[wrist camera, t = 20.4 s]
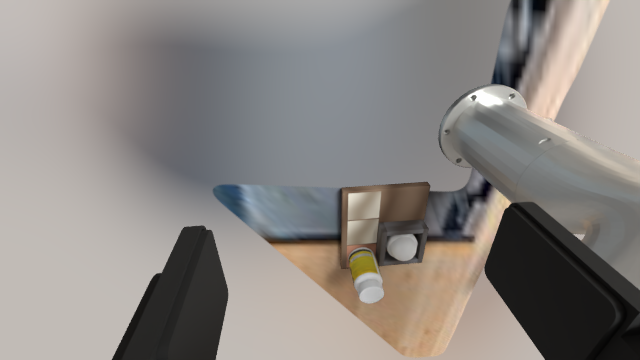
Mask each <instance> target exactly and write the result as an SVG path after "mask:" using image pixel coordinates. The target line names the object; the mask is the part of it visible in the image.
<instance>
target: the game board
mask: <svg viewBox="0 0 640 360" xmlns="http://www.w3.org/2000/svg"><path fill="white" fill-rule="evenodd" d="M429 190H430V185H429V183H428V182H418V183H404V184H389V185H374V186H359V187H345V188H342V197H341V269H348V268H350V265H349V260H348V257H349V254H350V253H351V252H352V251H353V250H355V249H357V248H361V247H365V248H369V249H370V250H372V251H373V253H374V255H375V258H376V261H377V264H378V266H385V265H397V264H409V263H421V262H422V259H423V254H424V249H425V244H426V239H427V234H428V227H427V225H426V224H425V222H424V217H425V211H426V206H427V201H428V196H429ZM404 234H414V236H415V238H416V240H417V242H418V246H417V249H416V253H415V255H414V257H413V258H412V259H410V260H408V261H400V260H397V259H396V258H394V257H392V256H391V255H390V254H389V253H388V251H387V248H386V241H387V236H391V235H404Z"/></svg>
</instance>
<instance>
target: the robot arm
mask: <svg viewBox="0 0 640 360" xmlns="http://www.w3.org/2000/svg"><path fill="white" fill-rule="evenodd" d="M439 145H440V148H441V150H442V152H443V154H444V155H445V156H446V157H447V158H448V159H449V160H450V161H451V162H452V163H454V164H455V165H458V166H461V167H466V168H474V169H475V170H476V171H478V172H479V173H480V174H481V175H482V176H483V177H484V178H485V179H486V180H487V181H488V182H490V183H491V184H492V185H493V186H494V187H495V188H496V189H497V190H498V191H499V192H500V193H501V194H503V195H504V196H505V197H506V198H507V199H508V200H509V201H510V202H511V203H512V204H510V205H509V207H508V208H506V209H505V211H504V213H503V216H502V219H501V222H500V225H499V227H498V230H497V233H496V236H495V239H494V241H493V244H492V247H491V250H490V253H489V256H488V258H487V261H486V264H485V274H486V276H487V278H488V280H489V281H490V282H491V284H492V285H493V287H494V288H495V289H496V291H497V292H498V294H499V295H500V296H501V298H502V299H503V301H504V302H505V303H506V305H507V306H508V308H509V309H510V311H511V312H512V313H513V315H514V316H515V318H516V319H517V321H518V322H519V323H520V325H521V326H522V327H523V329H524V330H525V332H526V333H527V335H528V336H529V337H530V339H531V340H532V342H533V343H534V344H535V346H536V347H537V349H538V350H539V352H540V353H541V354H542V356H543V357H544V359H545V360H640V161H639V160H636V159H634V158H631V157H629V156H627V155H624V154H622V153H620V152H617V151H615V150H613V149H610V148H608V147H606V146H604V145H602V144H600V143H598V142H595V141H593V140H591V139H589V138H587V137H585V136H583V135H580V134H578V133H576V132H574V131H572V130H570V129H567V128H566V127H563V126H561V125H559V124H557V123H555V122H553V121H552V119H551V118H544V117H542V116H540V115H538V114H536V113H533V112H531V111H529V110H527V106H526V103H525V101H524V99H523V97H522V96H521V95H520V94H519V93H518V92H517V91H515V90H514V89H512V88H510V87H507V86H505V85H499V84H488V85H483V86H480V87H477V88H475V89H472V90H470V91H468V92H467V93H465V94H464V95H462V96H461V97H460V98H459V99H458V100H456V101H455V102H454V104H453V105H452V106H451V107H450V108H449V109H448V111H447V112H446V114H445V116H444V118H443V120H442V123H441V125H440V129H439ZM573 234H585V236H584V238H583V239H582V240H581V241H580V240H579V239H578V238H577V237H575V236H574V235H573ZM227 301H228V288H227V284H226V281H225V277H224V273H223V270H222V266H221V262H220V259H219V255H218V251H217V248H216V244H215V240H214V236H213V233H212V231H211V230H206V228H205V226H192V227H184V228H183V229H182V231H181V233H180V235H179V237H178V240H177V242H176V244H175V246H174V248H173V250H172V252H171V254H170V257H169V259H168V261H167V263H166V265H165V267H164V269H163V272H162V273H158V274H156V275H155V276H154V277H153V278H152V280H151V281H150V283H149V285H148V287H147V289H146V291H145V294H144V296H143V297H142V299H141V302H140V304H139V306H138V308H137V310H136V312H135V314H134V316H133V318H132V320H131V322H130V324H129V326H128V328H127V330H126V332H125V334H124V336H123V338H122V340H121V343H120V344H119V346H118V348H117V350H116V352H115V354H114V356H113V359H112V360H216V355H217V350H218V345H219V340H220V335H221V330H222V326H223V321H224V316H225V311H226V306H227Z"/></svg>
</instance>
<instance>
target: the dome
mask: <svg viewBox="0 0 640 360" xmlns="http://www.w3.org/2000/svg"><path fill="white" fill-rule="evenodd" d="M417 246H418V242H417V240H416V238H415V236H414V234H404V235H391V236H387V241H386V248H387V251H388V253H389V254H390V255H391V256H392V257H394V258H396V259H397V260H400V261H408V260H410V259H412V258H413V257H414V255H415V253H416V249H417Z"/></svg>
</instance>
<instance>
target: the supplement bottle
mask: <svg viewBox="0 0 640 360" xmlns="http://www.w3.org/2000/svg"><path fill="white" fill-rule="evenodd" d="M348 260H349V265H350V269H351V274H352V278H353V282H354V286H355V289H356V290H357V291H358V295H359V298H360V300H361V301H362V302H364V303H375V302H377V301H379V300H381V299H382V298H383V296H384V290H383V286H382V283H383V280H382V276H381V273H380V270H379V267H378V264H377V261H376V258H375V255H374V253H373V251H372V250H370V249H369V248H365V247H361V248H357V249H355V250H353V251H352V252H351V253H350V254H349V257H348Z"/></svg>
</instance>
